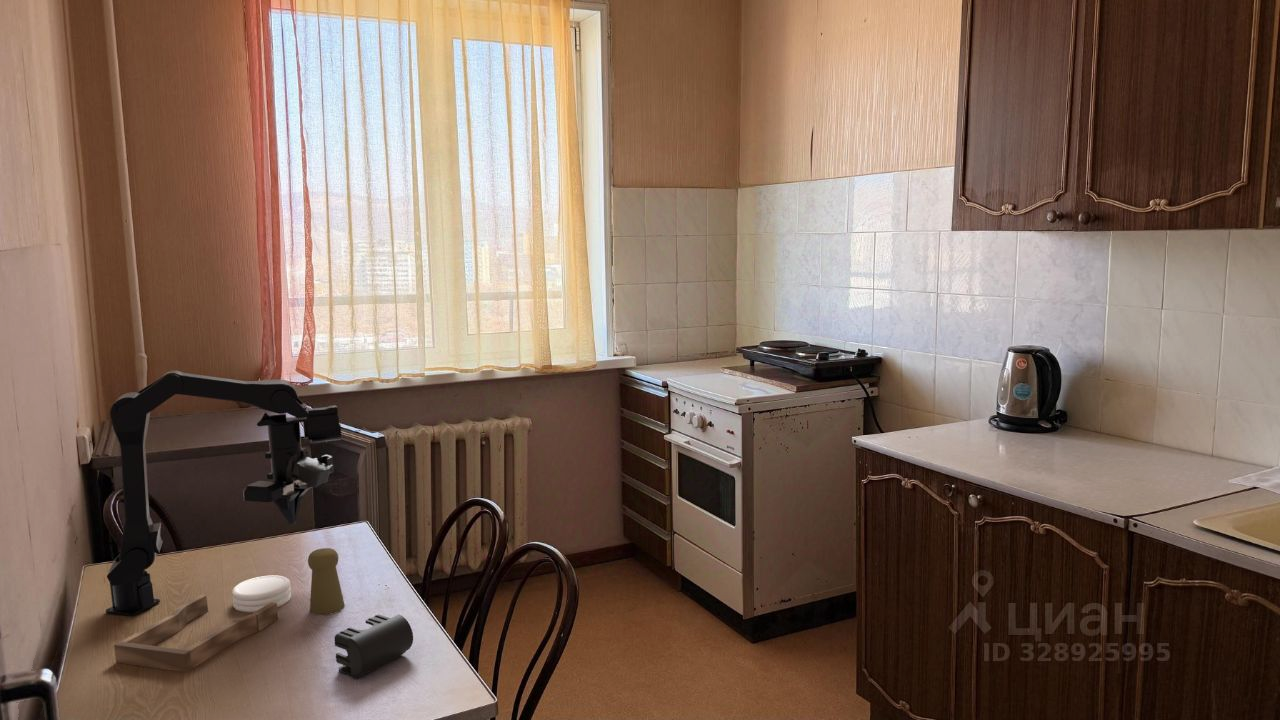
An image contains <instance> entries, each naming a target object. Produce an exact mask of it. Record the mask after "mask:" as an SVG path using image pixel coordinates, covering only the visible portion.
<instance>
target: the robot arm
mask: <svg viewBox="0 0 1280 720" xmlns="http://www.w3.org/2000/svg"><path fill="white" fill-rule="evenodd" d="M175 395H182V396H190V397H198V398H205V399H214V400H222V401H229V402H236V403H237V402H239V403H244V404H246V405H250V406H253V407H256V408H258V409H261V410H264V411H263V414H262V415H261V416H260V417H259V418H258V419H257V420H256V426H257V427H267V433H268V434H267V437H268V444H269V445H268V446H269V451H267V452H265V453H264V458H265V459H270V466H271V467H270V469H271V471H270V472H269V473H266V479H267V480H273V481H267V480H266V481H265V480H257V481H256V482H252V483H250V484H248V485H246V486H245V487H244V488H243V490H242V492H243V501H244V502H255V503H256V502H257V503H272V502H273V503H274V505H276V507H277V508H278V510H279V511H280V513H281V514H282V516H283V518H284V519H285V521H286V522H287V524H288V525H294V524H296V523H297V521H298V520H297V519H298V515H299V511H300V508H301V505H302V501H303V497H304V495H305V494H306V493H307V491H309V490H310V489H312V488H317V487H319V486H320V485H322V484H326V483H328V481H329V477H331V474H332V473H334V472H335V468H334V464H335V463H334V460H333V456H332V455H329V454H327V453H326V454H324V455H321V456H320V457H319V458H317V457H315V458H311V457H310V456H309V451H308V450H307V448H303V447H302V438H301V427H300V426H301V425H300V424H301V423H302V426H303V437H304V439H305V440H306V439H308V441H310V444H313V443H314V444H315V443H323V442H331V441H332V442H333V441H341V440H342V426H341V422H340V419H339V410H338V406H337V405H335V404H334V405H328V406H326V407H315V408H308V406H307V404H306V403H304V402H303V401H302V400H301V399H300V398H299V396H298V393H297V390H296V386H294V384H293V383H292V382H291V381H288V380H286V379H262V380H261V379H260V380H249V381H248V380H239V379H231V378H224V377H217V376H210V375H202V374H195V373H186V372H183V371H180V370H169V371H168V372H167V371H166V373H164V374H163V376H161V377H160V378H158V379H156V380H155V381H153V382H152V383H150V384H148V385H147V386H145V387H143V388H142V389H140V390H138V391H137V392H135V391H130V392H126V393H124V394H121V396H120V397H118V399H116V401H115V402H114V403H113V404H112V406H111V408H110V410H109V418H110V421H111V425H112V428H113V431H114V435H115V438H116V440H117V442H118V445H119V448H120V460H121V462H120V463H121V477H122V492H123V494H122V495H123V507H124V511H123V513H124V526H123V531H122V534H121V535H122V536H121V537H122V538H121V540H120V541H121V542H120V546H119V547H120V548H119V554H118V556H117V557H116V558H115V559H114V560H113V562H112V564H111V566H110V568H109V571H108V572H107V575H106V579H107V580H108V581H109V586H110V595H111V604H112V606H111V607H108V608H106V609H105V613H106V614H114V615H122V616H128V617H129V616H130V617H131V616H132V617H133V616H135V615H138V614H139V613H141V612H144V611H145V610H147V609H149V608H151V607H153V606H155V605H157V604H159V603H160V602H161V600H160V598H155V596H154V589H153V582H152V581H151V574H150V572H149V573H148V571H147V569H149V568H150V567H151V566H152V565H153V564H154V562H155V559H156V556H157V555H158V554H160V551H161V548H162V544H163V539H162V538H161V528H162V522H157V523H153V520H152V517H151V515H150V505H149V504H150V503H149V488H148V473H147V472H148V470H147V469H148V468H147V451H146V439H147V434H148V429H149V423H150V417H151V412H152V411H153V410H155V409H156V408H158V407H159V406H161V405H162V404H163V403H165V402H166V401H168V400H169V399H171V398H172V397H173V396H175ZM268 412H270V413H275V414H270V413H268ZM287 414H289V415H291V417H287Z"/></svg>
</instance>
